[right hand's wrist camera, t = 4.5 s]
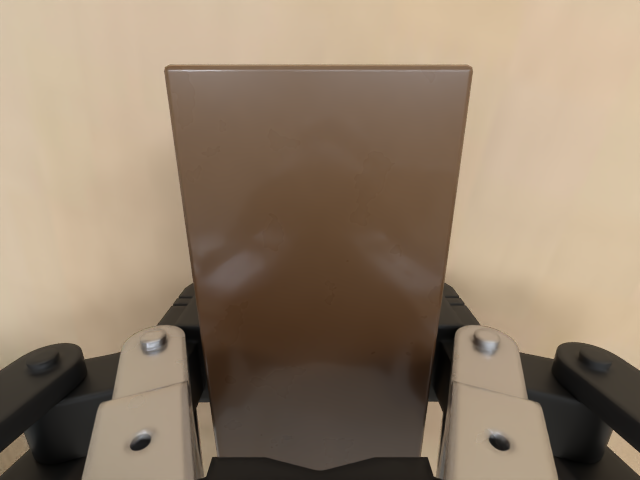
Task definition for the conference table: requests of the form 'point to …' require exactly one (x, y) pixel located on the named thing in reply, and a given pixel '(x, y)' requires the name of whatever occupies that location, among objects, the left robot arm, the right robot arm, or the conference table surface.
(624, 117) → the conference table surface
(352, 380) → the post
